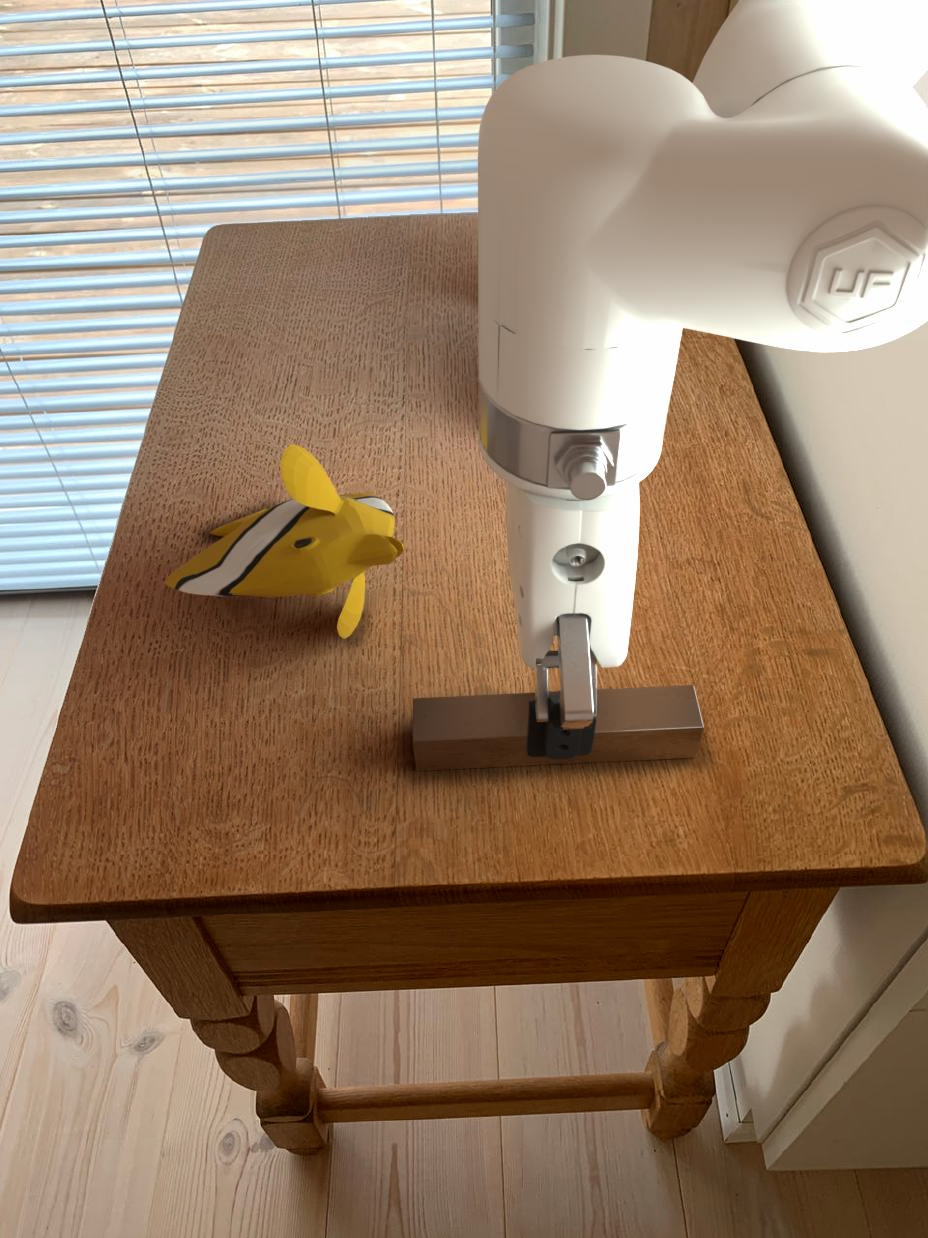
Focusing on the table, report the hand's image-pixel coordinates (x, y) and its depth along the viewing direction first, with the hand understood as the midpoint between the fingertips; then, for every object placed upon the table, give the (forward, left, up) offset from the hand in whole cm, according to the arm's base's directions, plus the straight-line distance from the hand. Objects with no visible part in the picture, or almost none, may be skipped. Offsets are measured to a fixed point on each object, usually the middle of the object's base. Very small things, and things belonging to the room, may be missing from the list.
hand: (549, 674), depth 52 cm
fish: (+16, -13, -7) cm, 21 cm away
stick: (0, 0, -6) cm, 6 cm away
